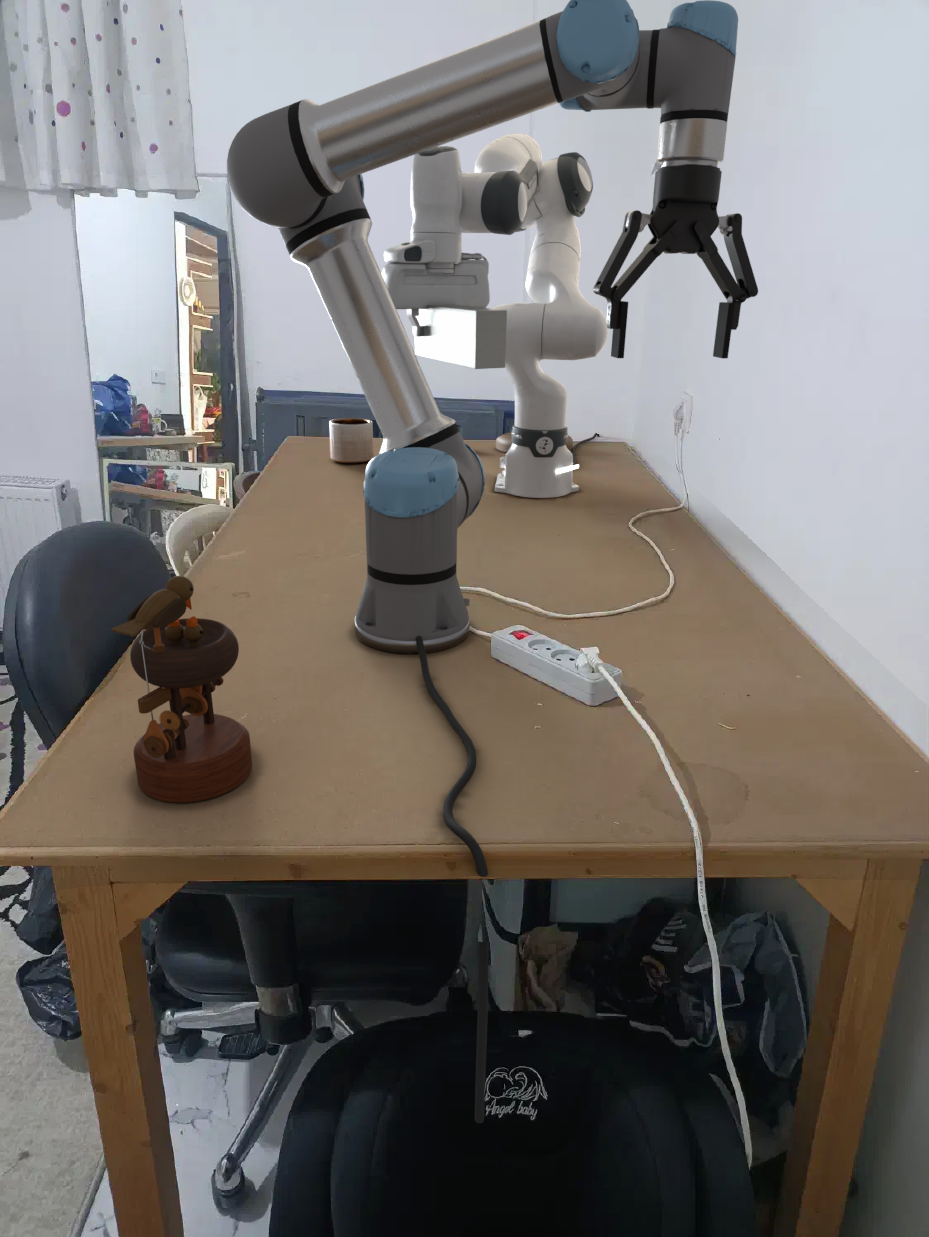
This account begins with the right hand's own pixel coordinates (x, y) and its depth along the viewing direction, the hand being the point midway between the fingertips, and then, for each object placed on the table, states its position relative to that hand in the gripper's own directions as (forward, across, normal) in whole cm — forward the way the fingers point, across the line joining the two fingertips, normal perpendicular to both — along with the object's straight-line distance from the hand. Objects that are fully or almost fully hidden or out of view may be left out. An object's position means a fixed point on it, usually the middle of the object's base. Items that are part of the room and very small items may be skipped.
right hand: (436, 336), depth 152 cm
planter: (+34, -5, -58) cm, 68 cm away
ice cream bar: (+35, -52, -46) cm, 78 cm away
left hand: (-2, -4, +58) cm, 58 cm away
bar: (+4, 0, +8) cm, 9 cm away
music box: (+33, +60, +70) cm, 98 cm away
